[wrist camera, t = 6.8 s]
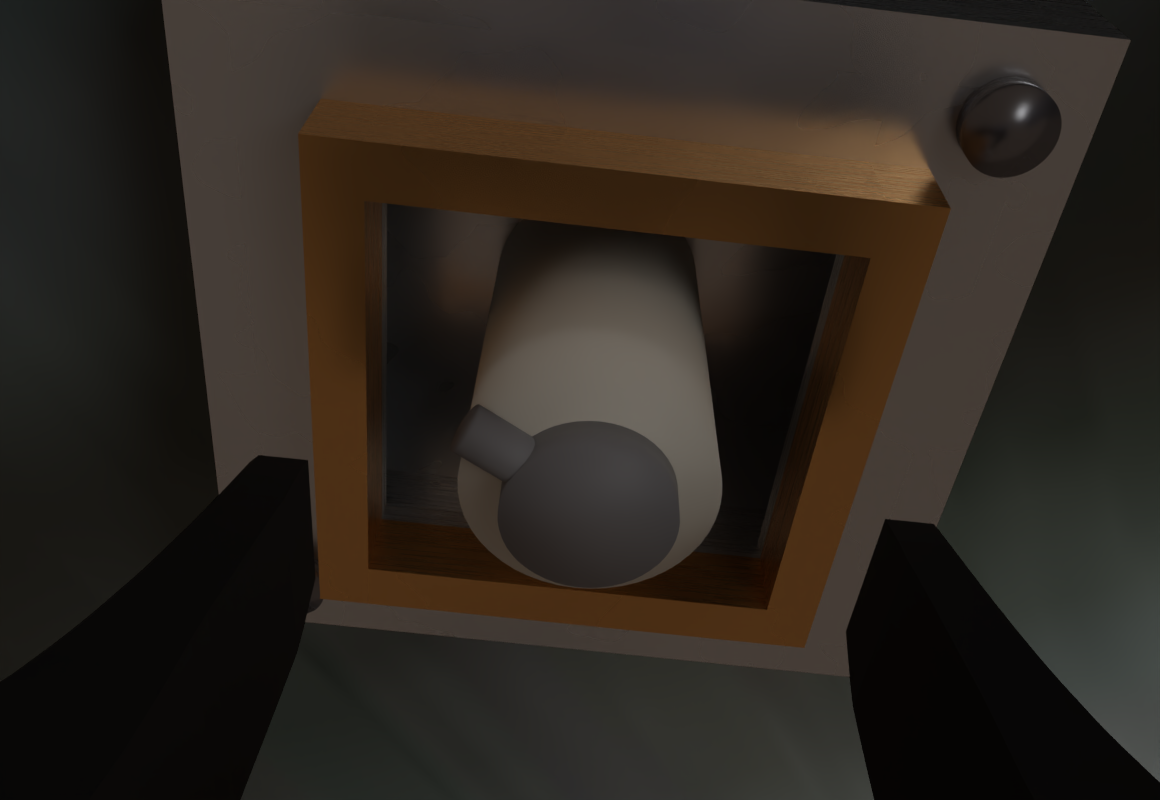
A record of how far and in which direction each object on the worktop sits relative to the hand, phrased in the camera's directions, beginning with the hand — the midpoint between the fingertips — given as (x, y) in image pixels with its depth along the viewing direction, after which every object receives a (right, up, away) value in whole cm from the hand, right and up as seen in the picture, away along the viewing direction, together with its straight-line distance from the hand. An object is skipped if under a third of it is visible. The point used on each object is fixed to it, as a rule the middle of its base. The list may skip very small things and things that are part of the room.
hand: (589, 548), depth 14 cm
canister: (0, +4, +6) cm, 7 cm away
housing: (0, +4, +6) cm, 8 cm away
